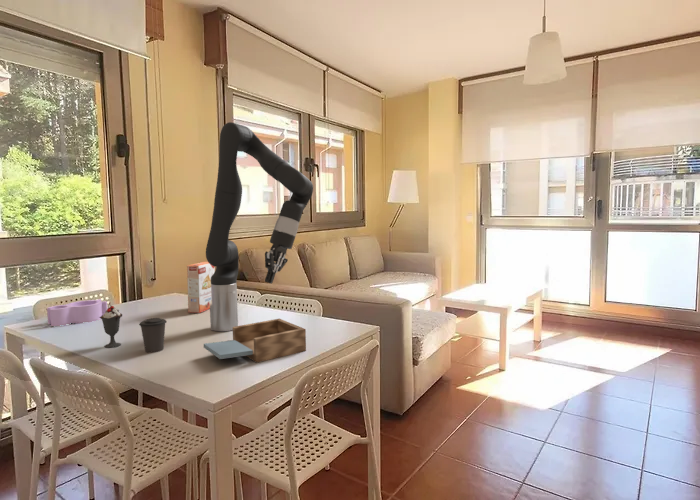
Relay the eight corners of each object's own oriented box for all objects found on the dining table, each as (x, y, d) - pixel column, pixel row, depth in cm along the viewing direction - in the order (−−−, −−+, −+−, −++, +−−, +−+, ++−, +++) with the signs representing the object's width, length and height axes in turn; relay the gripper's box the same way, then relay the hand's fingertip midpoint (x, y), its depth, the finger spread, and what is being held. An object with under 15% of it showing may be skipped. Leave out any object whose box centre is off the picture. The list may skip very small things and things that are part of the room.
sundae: (108, 350, 141) (105, 304, 139) (97, 346, 144) (94, 301, 143) (128, 344, 146) (125, 300, 145) (116, 341, 150) (114, 298, 149)
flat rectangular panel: (234, 339, 140) (203, 343, 134) (252, 350, 130) (220, 354, 123) (234, 347, 140) (203, 351, 134) (252, 358, 130) (219, 363, 124)
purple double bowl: (54, 329, 167) (53, 311, 166) (44, 323, 175) (43, 306, 174) (110, 318, 182) (109, 302, 181) (99, 314, 190) (98, 298, 189)
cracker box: (200, 313, 188) (198, 265, 186) (187, 313, 190) (185, 265, 187) (216, 306, 202) (215, 261, 200) (204, 305, 203) (203, 261, 201)
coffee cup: (140, 355, 136) (138, 323, 135) (140, 347, 143) (139, 317, 142) (168, 351, 139) (166, 321, 138) (167, 344, 146) (166, 315, 145)
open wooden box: (279, 338, 152) (279, 318, 152) (305, 350, 139) (305, 329, 138) (233, 348, 142) (232, 327, 141) (256, 362, 129) (255, 339, 128)
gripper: (283, 233, 152) (267, 281, 150) (266, 225, 139) (248, 277, 138) (302, 239, 149) (286, 288, 148) (286, 230, 137) (269, 283, 135)
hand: (268, 282), depth 143 cm, fingers closed
